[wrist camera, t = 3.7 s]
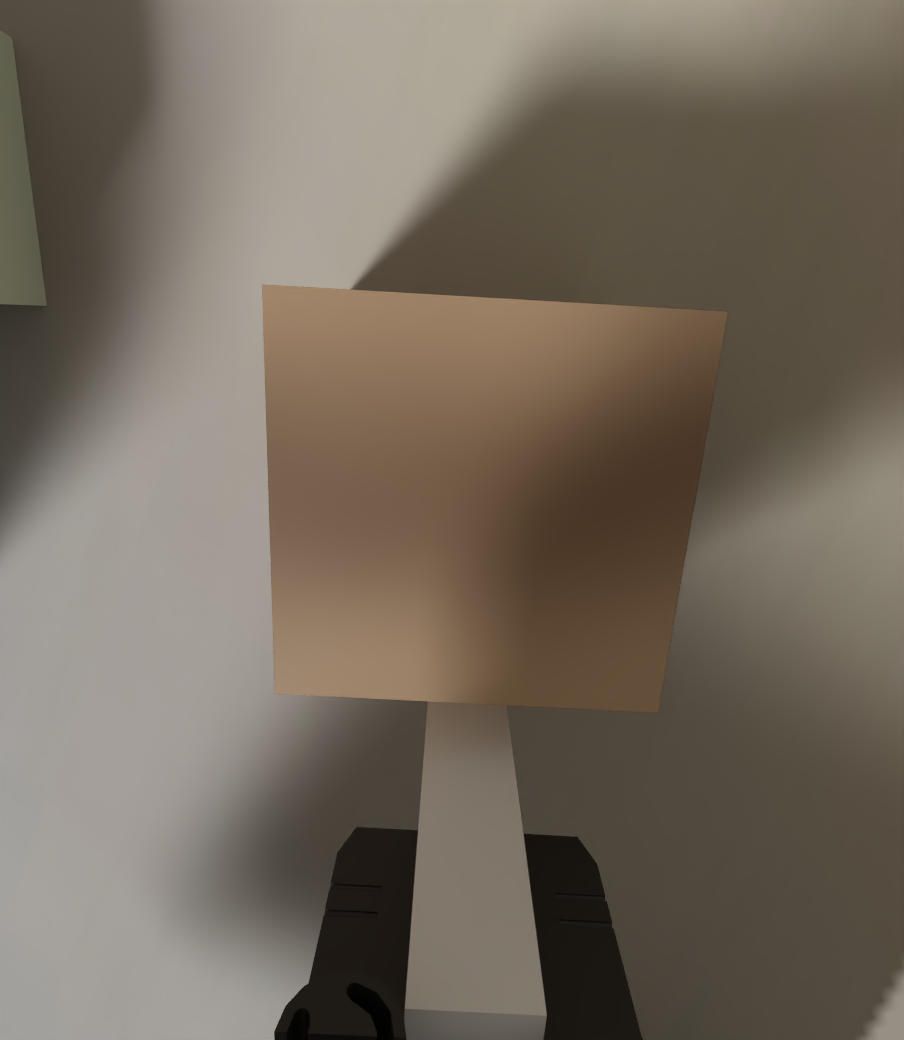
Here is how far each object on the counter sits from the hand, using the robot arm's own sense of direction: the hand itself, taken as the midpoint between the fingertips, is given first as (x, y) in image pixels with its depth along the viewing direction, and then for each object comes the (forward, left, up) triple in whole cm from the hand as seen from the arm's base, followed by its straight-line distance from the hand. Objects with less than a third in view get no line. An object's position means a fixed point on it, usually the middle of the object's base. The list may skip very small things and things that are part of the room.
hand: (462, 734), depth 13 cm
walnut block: (+5, 0, -3) cm, 6 cm away
